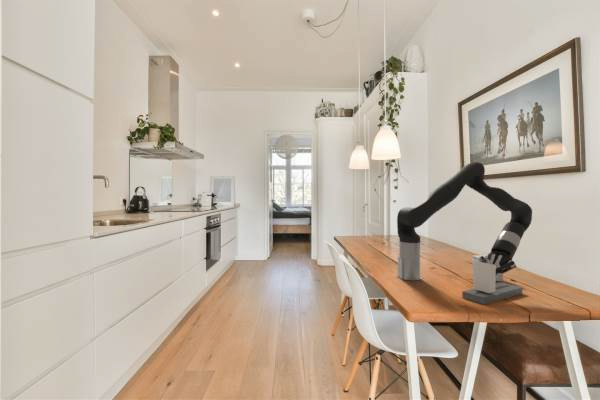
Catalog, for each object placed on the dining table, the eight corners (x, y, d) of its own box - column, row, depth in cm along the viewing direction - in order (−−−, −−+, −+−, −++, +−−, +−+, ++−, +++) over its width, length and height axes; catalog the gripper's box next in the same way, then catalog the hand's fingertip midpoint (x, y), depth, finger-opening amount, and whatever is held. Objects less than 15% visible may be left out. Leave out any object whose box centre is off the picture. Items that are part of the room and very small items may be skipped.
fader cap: (489, 293, 108) (489, 265, 108) (473, 288, 114) (473, 262, 114) (495, 291, 110) (495, 264, 110) (479, 287, 116) (479, 261, 116)
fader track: (485, 305, 105) (485, 297, 105) (460, 297, 113) (460, 290, 113) (524, 294, 117) (524, 287, 117) (499, 287, 125) (499, 281, 125)
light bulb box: (495, 277, 141) (495, 255, 141) (503, 281, 135) (503, 258, 135) (471, 277, 142) (471, 254, 142) (478, 280, 136) (478, 257, 136)
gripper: (528, 253, 114) (511, 290, 108) (492, 248, 126) (475, 281, 120) (521, 240, 112) (503, 277, 106) (485, 236, 123) (467, 269, 118)
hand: (488, 279), depth 113 cm, fingers closed
